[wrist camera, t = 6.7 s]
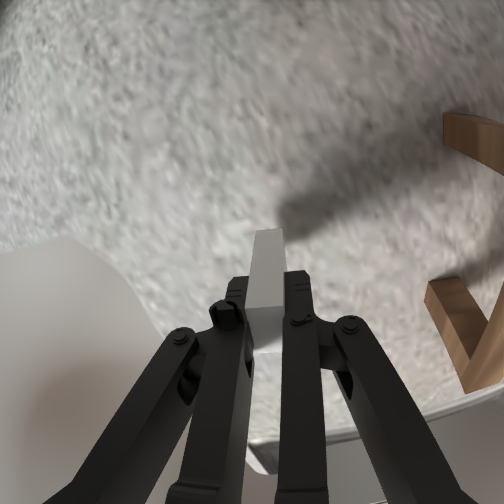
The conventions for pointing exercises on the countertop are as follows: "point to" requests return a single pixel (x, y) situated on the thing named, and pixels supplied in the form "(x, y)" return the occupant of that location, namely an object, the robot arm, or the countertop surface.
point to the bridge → (453, 290)
